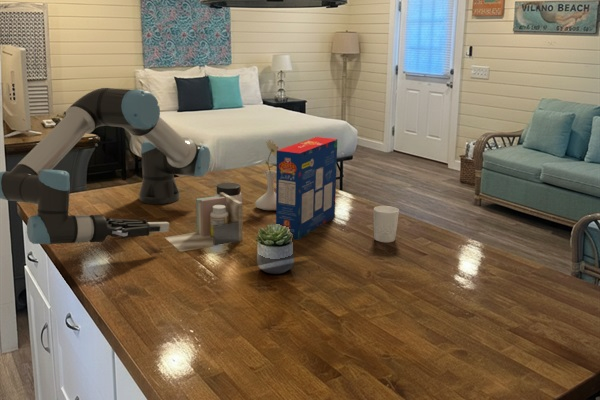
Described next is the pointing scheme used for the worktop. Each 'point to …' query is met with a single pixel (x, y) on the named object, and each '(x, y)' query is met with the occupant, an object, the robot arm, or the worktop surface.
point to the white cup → (385, 223)
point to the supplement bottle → (218, 216)
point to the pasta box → (306, 185)
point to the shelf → (198, 241)
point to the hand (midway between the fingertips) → (167, 226)
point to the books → (206, 213)
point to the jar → (230, 190)
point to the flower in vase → (269, 184)
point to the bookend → (225, 233)
